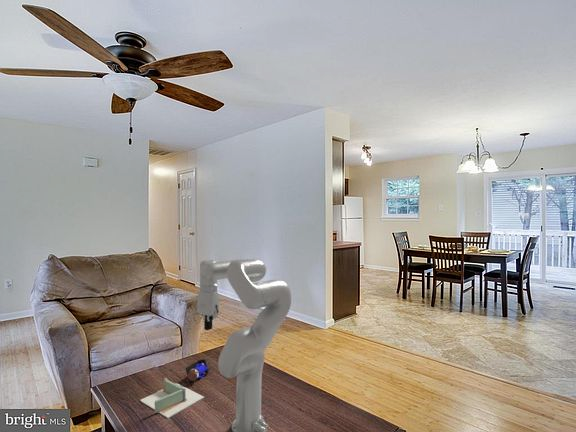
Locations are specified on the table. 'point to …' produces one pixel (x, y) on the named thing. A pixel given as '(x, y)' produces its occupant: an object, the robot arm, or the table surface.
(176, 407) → the card
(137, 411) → the table surface
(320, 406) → the table surface
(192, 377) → the character figurine
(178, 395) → the hinged fence panel
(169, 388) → the fixed fence panel
